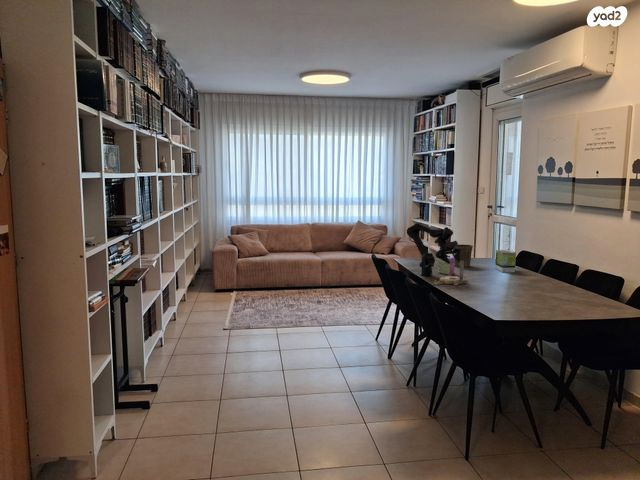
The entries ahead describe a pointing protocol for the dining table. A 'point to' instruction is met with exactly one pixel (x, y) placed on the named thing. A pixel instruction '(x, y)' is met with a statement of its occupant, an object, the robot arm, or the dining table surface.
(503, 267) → the tea box
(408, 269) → the dining table surface
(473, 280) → the dining table surface
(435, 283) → the pointer
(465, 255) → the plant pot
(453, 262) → the box
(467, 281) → the index wheel
